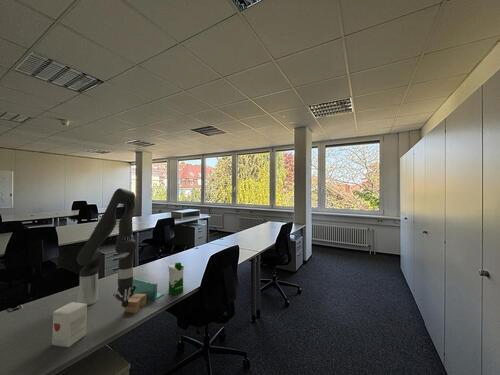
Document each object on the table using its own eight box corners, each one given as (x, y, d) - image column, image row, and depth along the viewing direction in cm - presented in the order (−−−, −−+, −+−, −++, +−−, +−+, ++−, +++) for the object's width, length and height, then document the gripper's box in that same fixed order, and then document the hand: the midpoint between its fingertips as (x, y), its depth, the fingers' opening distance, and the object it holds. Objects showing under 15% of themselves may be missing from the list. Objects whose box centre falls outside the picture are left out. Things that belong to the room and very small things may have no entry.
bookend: (154, 300, 137) (155, 284, 137) (132, 294, 145) (132, 279, 145) (163, 294, 144) (164, 279, 144) (141, 289, 152) (142, 275, 152)
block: (136, 312, 123) (136, 302, 123) (124, 312, 124) (124, 301, 124) (146, 303, 133) (146, 293, 133) (135, 303, 134) (135, 293, 134)
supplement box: (51, 345, 96) (52, 311, 97) (70, 332, 105) (71, 301, 106) (68, 347, 95) (69, 313, 95) (86, 334, 104) (87, 303, 104)
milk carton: (173, 296, 142) (174, 265, 142) (166, 292, 148) (166, 262, 148) (185, 291, 149) (185, 262, 149) (177, 288, 155) (178, 259, 155)
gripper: (119, 281, 114) (118, 314, 114) (140, 272, 127) (139, 302, 126) (109, 278, 117) (108, 311, 117) (131, 270, 130) (130, 300, 129)
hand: (124, 306), depth 122 cm, fingers closed
